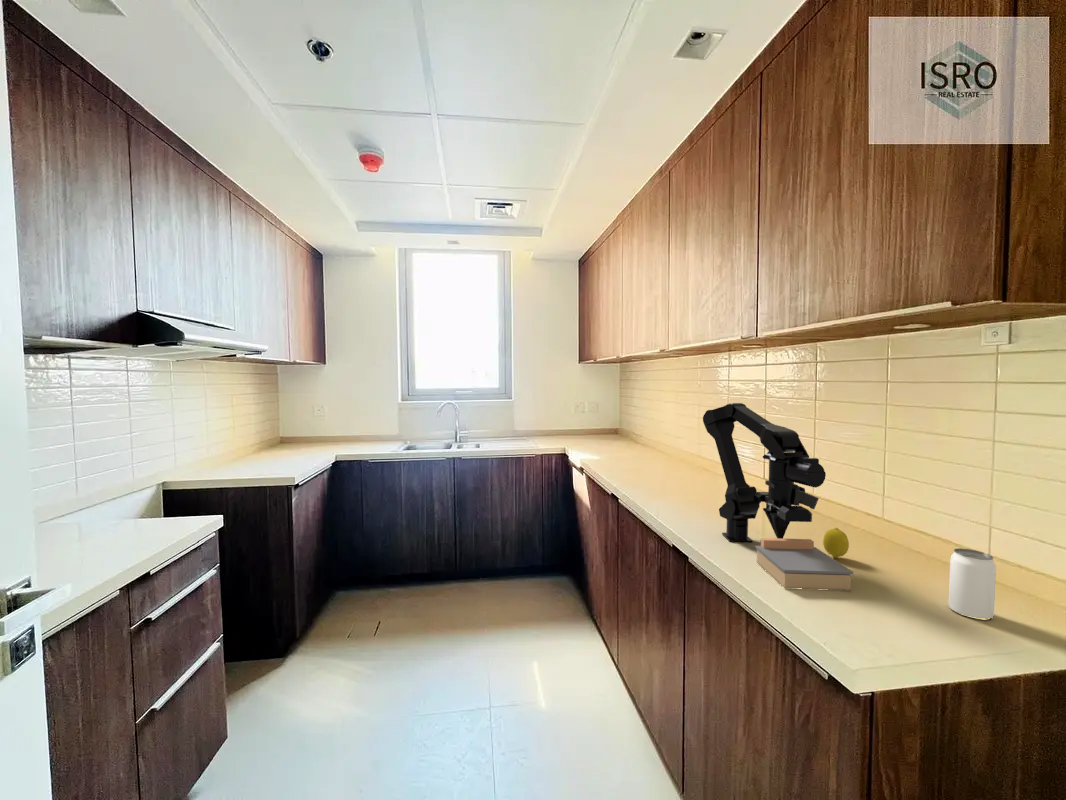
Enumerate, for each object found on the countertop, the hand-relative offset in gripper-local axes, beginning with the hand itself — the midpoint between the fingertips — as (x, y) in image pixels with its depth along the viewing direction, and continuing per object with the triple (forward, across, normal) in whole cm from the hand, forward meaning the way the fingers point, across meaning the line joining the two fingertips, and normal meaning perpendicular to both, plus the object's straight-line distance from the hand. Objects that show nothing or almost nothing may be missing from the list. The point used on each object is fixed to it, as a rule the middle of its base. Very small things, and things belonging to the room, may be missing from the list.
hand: (779, 538), depth 116 cm
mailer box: (+5, -10, 0) cm, 12 cm away
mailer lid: (+1, -10, 0) cm, 10 cm away
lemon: (+6, +2, -15) cm, 16 cm away
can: (+6, -25, -25) cm, 36 cm away
